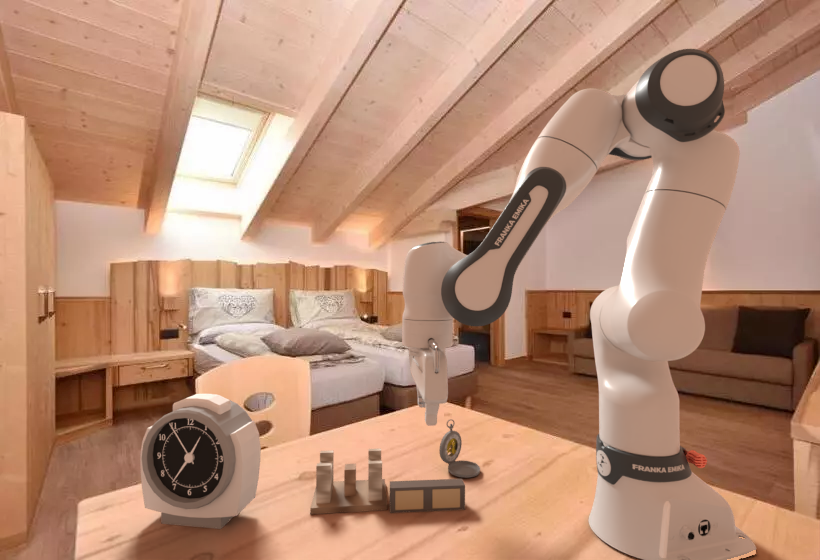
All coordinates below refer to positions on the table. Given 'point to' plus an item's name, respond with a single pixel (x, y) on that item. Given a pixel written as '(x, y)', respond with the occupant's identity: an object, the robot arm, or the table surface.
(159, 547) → the table surface
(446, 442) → the pocket watch
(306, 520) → the table surface
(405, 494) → the long grey beam
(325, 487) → the display stand
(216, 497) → the alarm clock
